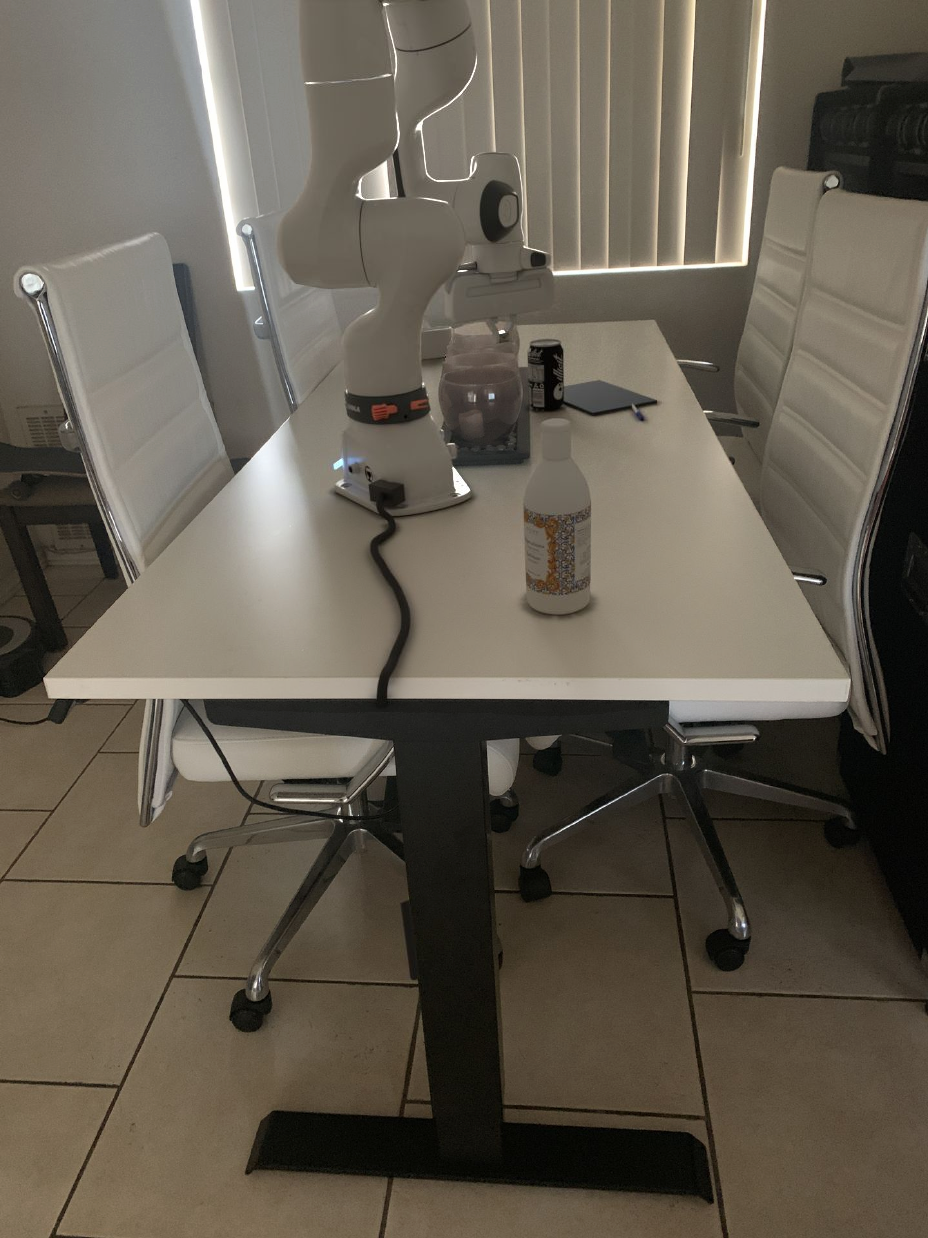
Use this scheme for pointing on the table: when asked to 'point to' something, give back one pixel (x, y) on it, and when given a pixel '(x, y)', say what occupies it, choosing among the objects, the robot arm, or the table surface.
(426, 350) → the phone holder
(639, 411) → the ballpoint pen
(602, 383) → the mat
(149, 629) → the table surface
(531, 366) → the beverage can
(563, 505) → the bath foam
